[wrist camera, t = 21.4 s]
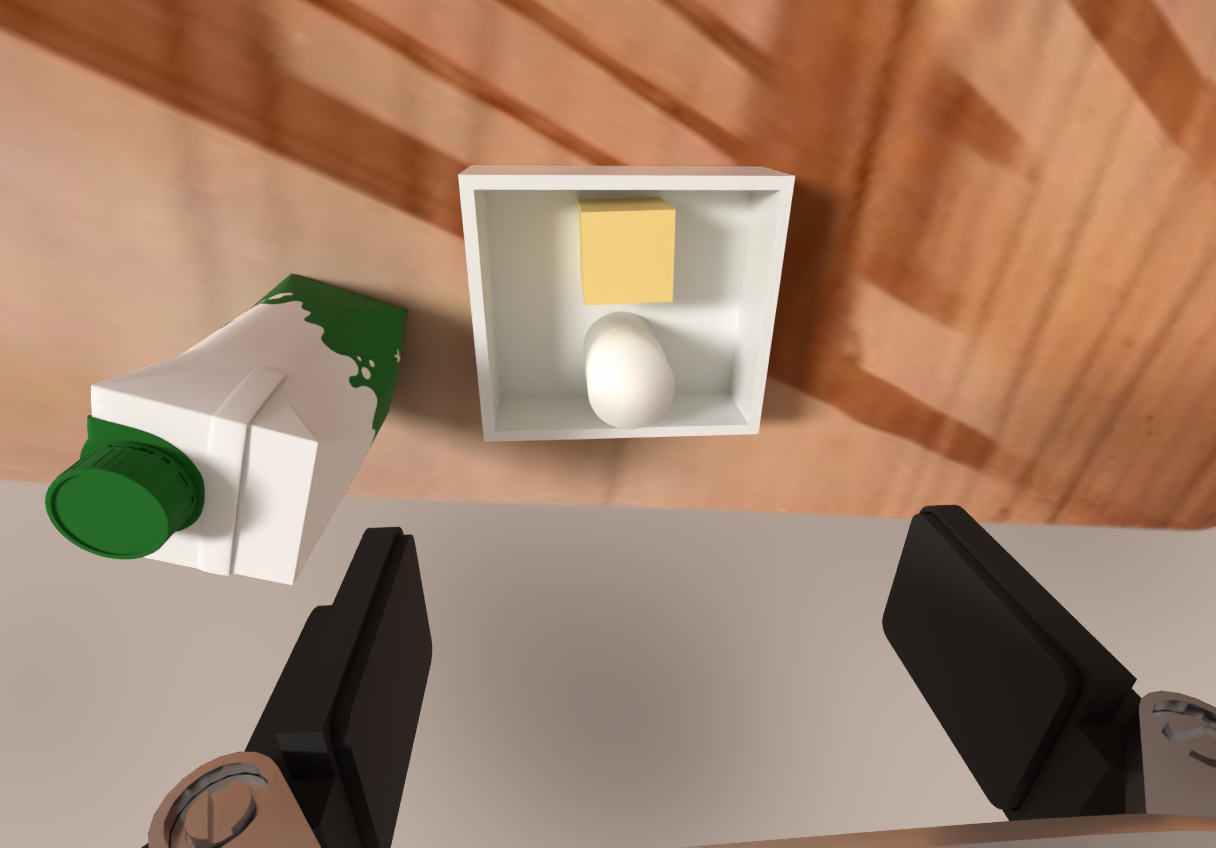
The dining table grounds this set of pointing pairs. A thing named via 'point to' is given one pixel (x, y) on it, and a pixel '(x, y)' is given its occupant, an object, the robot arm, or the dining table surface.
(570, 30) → the dining table surface
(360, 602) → the robot arm
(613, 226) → the mustard block
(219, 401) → the milk carton
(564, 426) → the tote
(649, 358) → the white canister
